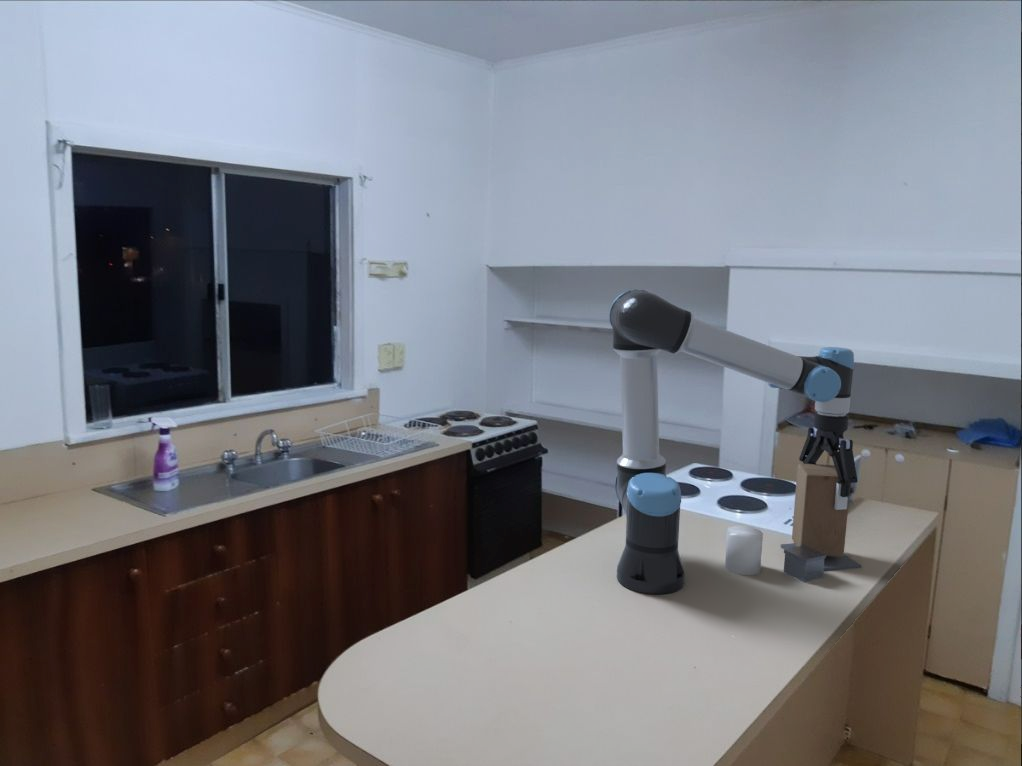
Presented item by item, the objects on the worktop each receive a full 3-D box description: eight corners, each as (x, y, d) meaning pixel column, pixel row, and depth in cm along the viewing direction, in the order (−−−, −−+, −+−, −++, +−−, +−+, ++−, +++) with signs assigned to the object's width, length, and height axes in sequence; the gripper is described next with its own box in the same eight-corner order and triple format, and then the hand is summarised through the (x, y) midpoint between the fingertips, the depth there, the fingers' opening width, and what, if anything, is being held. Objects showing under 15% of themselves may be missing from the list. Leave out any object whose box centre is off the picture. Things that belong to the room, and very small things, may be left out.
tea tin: (804, 583, 167) (806, 559, 166) (782, 572, 172) (784, 549, 171) (824, 577, 170) (826, 554, 169) (801, 567, 175) (803, 544, 174)
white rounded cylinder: (735, 576, 170) (737, 539, 168) (718, 562, 177) (721, 526, 176) (767, 573, 171) (769, 537, 170) (749, 559, 179) (751, 524, 177)
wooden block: (844, 557, 175) (851, 476, 172) (799, 554, 177) (806, 474, 173) (833, 542, 185) (840, 465, 181) (791, 539, 186) (797, 462, 183)
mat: (816, 571, 173) (816, 568, 173) (780, 546, 187) (780, 544, 187) (861, 567, 175) (861, 564, 175) (822, 543, 190) (823, 540, 189)
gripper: (880, 423, 164) (871, 516, 168) (815, 402, 187) (808, 484, 191) (850, 425, 162) (841, 518, 166) (788, 403, 186) (782, 485, 189)
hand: (824, 500), depth 179 cm, fingers closed on wooden block, 12 cm apart
